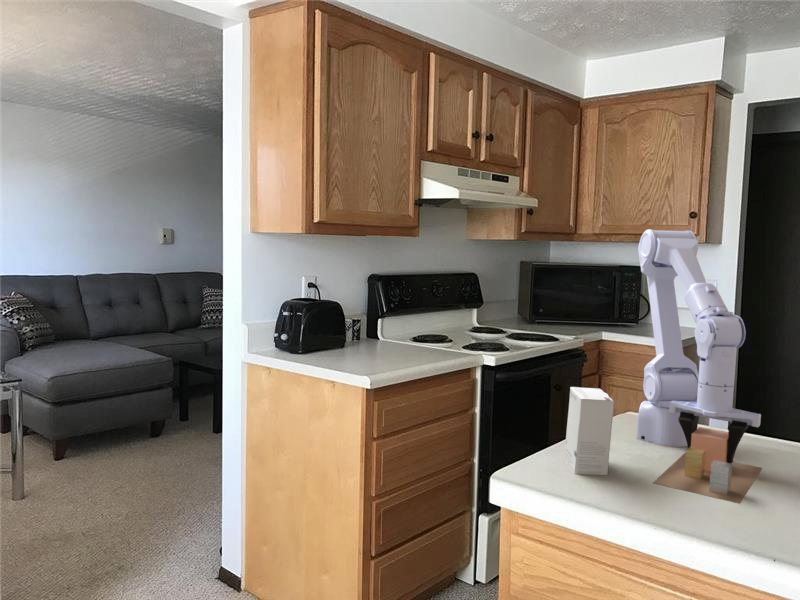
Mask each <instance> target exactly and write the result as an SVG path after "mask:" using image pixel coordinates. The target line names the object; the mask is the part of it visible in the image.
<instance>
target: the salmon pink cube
mask: <svg viewBox="0 0 800 600" xmlns="http://www.w3.org/2000/svg"><path fill="white" fill-rule="evenodd" d="M691 447H695V448H700V449H705V450H706V458H705V470H707V471H711V464H712V462H713V461H714V460H717V461H722V462H727V452H728V431H723V430H717V429H712V428H705V427H700V426H699V427H697V430H695V431H694V432H693V433H692V437H691Z"/></svg>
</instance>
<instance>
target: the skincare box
mask: <svg viewBox="0 0 800 600" xmlns="http://www.w3.org/2000/svg"><path fill="white" fill-rule="evenodd" d="M569 389H570V390H569V402H568V412H567V422H566V423H567V424H566V432H565V434H566V435H565V446H564V447H565V448H564V456H563V458H564V459H563V462H564V463H565V462H566V463H567V464H568V466H569V467H570V468H571V470H572V472H573V473H574V474H575V475H597V476H599V475H603V476H608V472H609V464H610V463H609V460H610V450H611V439H612V430H613V429H612V427H613V417H614V409H615V408H614V407H615V401H614V399H612V398H611V397H610V396H609V394H608V393H606V392H604V390H602V389H601V388H597V387H596V388H595V387H594V388H593V387H579V386H570V387H569Z"/></svg>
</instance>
